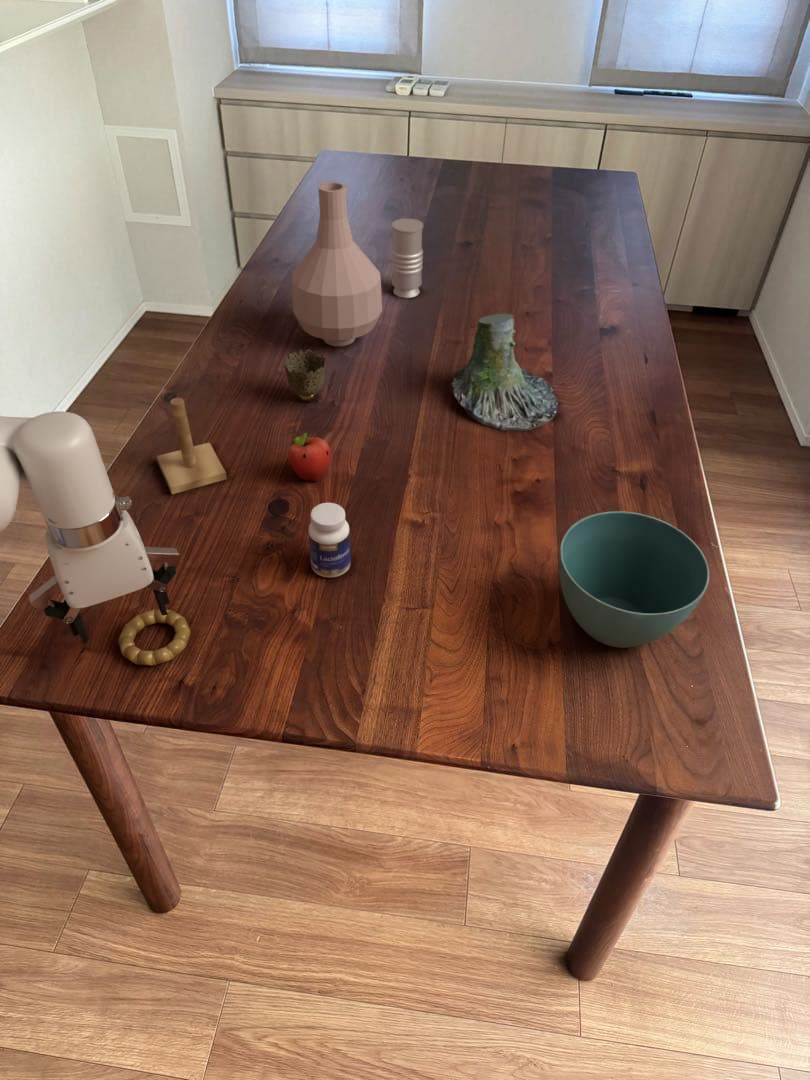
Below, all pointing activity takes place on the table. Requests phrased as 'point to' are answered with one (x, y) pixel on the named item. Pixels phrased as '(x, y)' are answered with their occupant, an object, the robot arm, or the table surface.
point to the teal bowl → (630, 577)
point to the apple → (309, 457)
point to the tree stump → (502, 381)
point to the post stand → (189, 458)
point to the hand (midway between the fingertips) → (124, 621)
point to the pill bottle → (329, 540)
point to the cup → (305, 374)
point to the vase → (336, 278)
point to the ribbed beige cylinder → (407, 257)
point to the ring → (161, 654)
